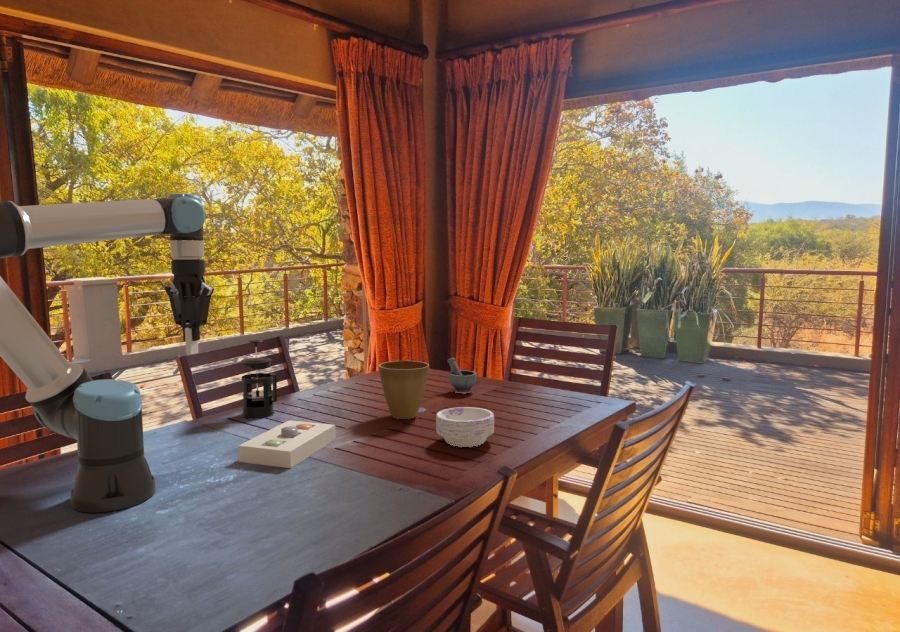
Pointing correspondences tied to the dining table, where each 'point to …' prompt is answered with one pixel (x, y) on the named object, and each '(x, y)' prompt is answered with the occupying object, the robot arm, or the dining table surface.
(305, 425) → the terracotta button
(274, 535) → the dining table surface
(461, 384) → the mortar and pestle
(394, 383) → the plant pot
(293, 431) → the grey button
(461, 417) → the paper bowls
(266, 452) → the button panel
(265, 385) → the french press
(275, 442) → the sage button
